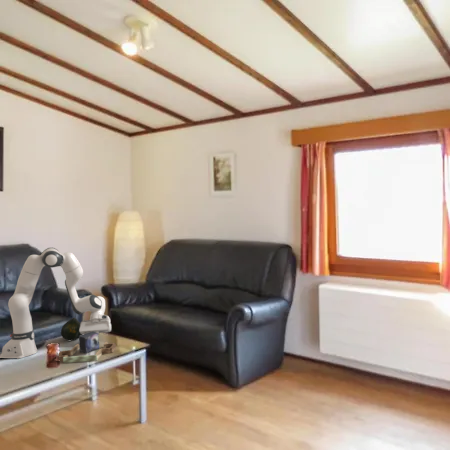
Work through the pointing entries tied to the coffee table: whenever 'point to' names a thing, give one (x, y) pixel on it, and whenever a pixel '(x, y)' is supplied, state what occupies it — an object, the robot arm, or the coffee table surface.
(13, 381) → the coffee table surface
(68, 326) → the squash
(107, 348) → the trap lane
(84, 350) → the small box
